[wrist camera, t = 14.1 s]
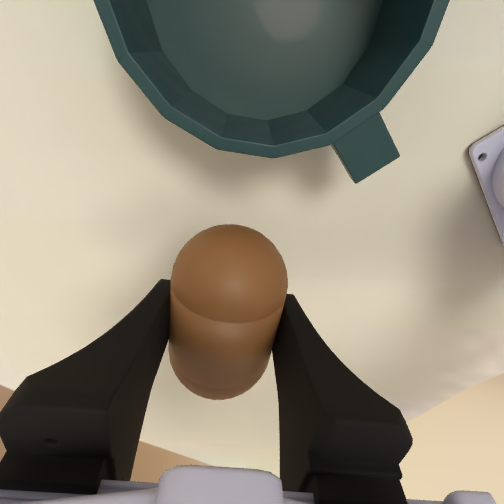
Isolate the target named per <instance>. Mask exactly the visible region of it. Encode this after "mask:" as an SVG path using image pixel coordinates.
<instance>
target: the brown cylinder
mask: <svg viewBox="0 0 504 504" xmlns="http://www.w3.org/2000/svg"><path fill="white" fill-rule="evenodd" d="M287 287H288V279H287V270H286V267H285V264H284V261H283V259H282V256H281V254H280V253H279V251H278V250H277V249H276V247H275V246H274V244H273V243H272V242H271V241H270V240H269V239H267V238H266V237H265V236H264V235H263V234H261V233H260V232H258V231H256V230H254V229H251V228H248V227H245V226H241V225H218V226H214V227H211V228H208V229H206V230H204V231H201V232H200V233H198V234H197V235H195V236H194V237H193V238H192V239H190V240H189V241H188V242H187V243H186V244H185V246H184V247H183V248H182V250H181V251H180V253H179V254H178V256H177V258H176V261H175V263H174V265H173V271H172V277H171V289H170V321H169V355H170V362H171V365H172V368H173V370H174V372H175V374H176V376H177V378H178V379H179V380H180V382H181V383H182V384H183V385H184V386H185V387H186V388H188V389H189V390H190V391H191V392H193V393H195V394H196V395H198V396H201V397H204V398H208V399H213V400H224V399H229V398H233V397H236V396H238V395H240V394H243V393H244V392H246V391H247V390H249V389H250V388H251V387H252V386H253V385H254V384H255V383H256V382H257V381H258V380H259V379H260V378H261V376H262V375H263V373H264V371H265V369H266V367H267V364H268V362H269V359H270V355H271V351H272V348H273V344H274V340H275V336H276V333H277V329H278V325H279V321H280V318H281V314H282V310H283V307H284V303H285V299H286V294H287Z"/></svg>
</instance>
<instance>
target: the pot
mask: <svg viewBox="0 0 504 504" xmlns="http://www.w3.org/2000/svg"><path fill="white" fill-rule="evenodd" d="M94 3H95V5H96V8H97V10H98V13H99V15H100V18H101V20H102V23H103V26H104V28H105V31H106V33H107V36H108V38H109V41H110V43H111V46H112V49H113V51H114V54H115V56H116V58H117V60H118V62H119V63H120V64H121V66H122V67H123V68H124V69H125V71H126V72H127V73H128V74H129V76H130V77H131V78H132V79H133V80H134V82H135V83H136V84H137V85H138V87H139V88H140V89H141V90H142V92H143V93H144V94H145V95H146V96H147V98H148V99H149V100H150V101H151V103H152V104H153V105H154V106H155V107H156V109H157V110H158V111H159V112H160V114H161V115H162V116H164V118H165V119H167V120H169V121H170V122H172V123H174V124H175V125H177V126H179V127H180V128H182V129H184V130H185V131H187V132H189V133H190V134H192V135H194V136H195V137H197V138H199V139H200V140H202V141H204V142H205V143H207V144H209V145H210V146H212V147H214V148H215V149H218V150H224V151H230V152H236V153H242V154H249V155H255V156H261V157H268V158H278V157H282V156H286V155H290V154H295V153H299V152H303V151H307V150H311V149H316V148H320V147H324V146H328V145H330V144H331V145H332V147H333V148H334V150H335V152H336V154H337V155H338V157H339V159H340V160H341V162H342V164H343V166H344V167H345V169H346V171H347V172H348V174H349V176H350V178H351V179H352V180H353V181H354V183H358V182H360V181H361V180H363V179H365V178H366V177H368V176H369V175H371V174H373V173H374V172H376V171H377V170H379V169H381V168H382V167H384V166H386V165H387V164H389V163H390V162H392V161H394V160H395V159H397V158H398V157H399V156H400V154H399V152H398V150H397V148H396V146H395V144H394V142H393V140H392V138H391V136H390V134H389V132H388V130H387V128H386V125H385V123H384V121H383V119H382V117H381V115H380V113H379V112H380V111H381V110H383V109H384V107H386V106H387V104H388V103H389V102H390V101H391V99H392V98H393V97H394V95H395V94H396V93H397V91H398V90H399V89H400V87H401V86H402V85H403V84H404V82H405V81H406V80H407V78H408V77H409V76H410V74H411V73H412V72H413V70H414V69H415V68H416V67H417V65H418V64H419V63H420V61H421V60H422V59H423V57H424V56H425V55H426V53H427V52H428V51H429V50H430V48H431V46H432V45H433V42H434V40H435V37H436V35H437V32H438V29H439V27H440V24H441V21H442V19H443V16H444V14H445V11H446V8H447V6H448V3H449V0H94Z"/></svg>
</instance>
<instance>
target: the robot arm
mask: <svg viewBox="0 0 504 504" xmlns="http://www.w3.org/2000/svg"><path fill="white" fill-rule="evenodd" d="M482 153H483V156H482V157H481V158H480V159H478V157H479V155H480V154H482ZM469 155H470V158H471V161H472V163H473V166H474V169H475V171H476V174H477V177H478V179H479V182H480V185H481V188H482V190H483V193H484V196H485V198H486V201H487V204H488V206H489V209H490V212H491V214H492V217H493V220H494V223H495V225H496V228H497V231H498V233H499V236H500V239H501V241H502V244H503V246H504V126H502V127H501V128H499V129H497V130H496V131H494V132H492V133H490V134H489V135H487V136H485V137H484V138H482V139H480V140H479V141H477V142H475V143H474V144H473V145H472V146H471V147H470V149H469ZM170 289H171V280H165V279H161V280H159V281H158V283H157V284H156V285H155V286H154V288H153V289H152V290H151V291H150V292H149V293H148V294H147V296H146V297H145V298H144V299H143V300H142V301H141V302H140V303H139V304H138V305H137V306H136V307H135V308H134V309H133V310H132V311H131V312H130V313H129V314H127V315H126V316H125V317H124V318H123V319H122V320H121V321H120V322H119V323H117V324H116V325H115V326H114V327H112V328H111V329H110V330H109V331H107V332H106V333H105V334H103V335H102V336H101V337H99V338H98V339H96V340H95V341H93V342H92V343H90V344H89V345H87V346H86V347H84V348H83V349H81V350H79V351H78V352H76V353H74V354H72V355H71V356H69V357H67V358H65V359H63V360H62V361H60V362H58V363H56V364H54V365H52V366H49V367H47V368H45V369H43V370H41V371H39V372H36V373H34V374H32V375H30V376H27V377H26V378H25V380H24V381H23V382H22V383H21V384H20V386H19V387H18V388H17V389H16V390H15V392H14V393H13V394H12V396H11V397H10V399H9V400H8V402H7V403H6V405H5V406H4V408H3V409H2V411H1V412H0V437H1V439H2V441H3V443H4V446H5V448H6V450H7V452H6V453H5V455H4V457H3V458H2V460H1V462H0V504H496V503H495V501H494V499H493V497H492V495H491V494H490V493H488V492H477V491H454V492H452V493H450V494H449V495H447V497H446V498H445V499H444V501H443V502H442V501H426V500H410V499H406V497H405V495H404V492H403V489H402V486H401V483H400V480H399V479H401V478H402V473H401V470H400V467H399V463H400V462H401V461H402V459H403V458H404V457H405V455H406V454H407V453H408V451H409V449H410V448H411V446H412V441H413V440H412V439H413V438H412V436H411V433H410V431H409V429H408V426H407V424H406V421H405V419H404V417H403V415H402V414H401V412H400V410H399V409H398V408H397V407H395V406H394V405H392V404H391V403H390V402H388V401H387V400H385V399H384V398H383V397H381V396H380V395H378V394H377V393H376V392H375V391H373V390H372V389H371V388H370V387H368V386H367V385H366V384H365V383H364V382H362V381H361V380H360V379H359V378H358V377H357V376H356V375H355V374H354V373H352V372H351V371H350V370H349V369H348V368H347V367H346V366H345V365H344V364H343V363H342V362H341V361H340V360H339V359H338V357H337V356H336V355H335V354H334V353H333V352H332V351H331V350H330V348H329V347H328V346H327V345H326V343H325V342H324V341H323V339H322V338H321V337H320V335H319V334H318V333H317V331H316V330H315V328H314V327H313V325H312V324H311V322H310V321H309V319H308V318H307V316H306V315H305V313H304V311H303V310H302V308H301V306H300V305H299V303H298V301H297V299H296V298H295V296H294V295H293V294H286V299H285V303H284V307H283V310H282V314H281V318H280V321H279V325H278V329H277V333H276V336H275V340H274V344H273V348H272V353H273V361H274V368H275V376H276V383H277V391H278V401H279V431H280V479H279V478H278V477H277V476H275V475H274V474H272V473H271V472H267V471H263V470H258V469H244V468H230V467H216V466H200V465H180V466H175V467H173V468H170V469H168V470H166V471H165V472H163V474H162V476H161V477H160V479H159V483H147V482H132V481H130V478H131V473H132V469H133V464H134V460H135V455H136V451H137V446H138V442H139V438H140V433H141V429H142V425H143V421H144V416H145V412H146V408H147V404H148V400H149V396H150V392H151V388H152V385H153V382H154V379H155V376H156V373H157V371H158V368H159V365H160V362H161V359H162V356H163V354H164V351H165V348H166V345H167V342H168V339H169V321H170Z"/></svg>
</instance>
